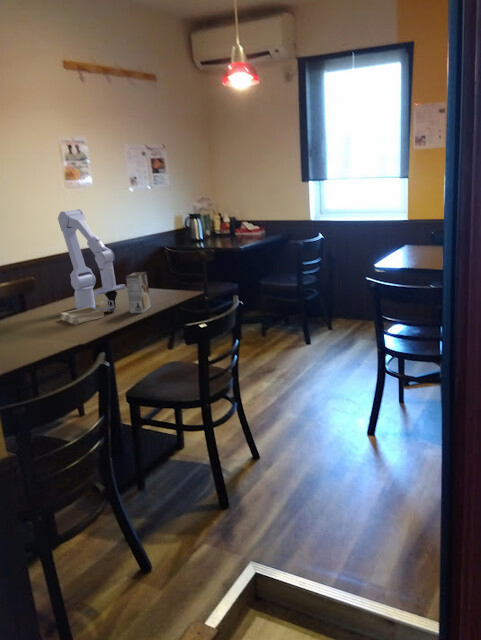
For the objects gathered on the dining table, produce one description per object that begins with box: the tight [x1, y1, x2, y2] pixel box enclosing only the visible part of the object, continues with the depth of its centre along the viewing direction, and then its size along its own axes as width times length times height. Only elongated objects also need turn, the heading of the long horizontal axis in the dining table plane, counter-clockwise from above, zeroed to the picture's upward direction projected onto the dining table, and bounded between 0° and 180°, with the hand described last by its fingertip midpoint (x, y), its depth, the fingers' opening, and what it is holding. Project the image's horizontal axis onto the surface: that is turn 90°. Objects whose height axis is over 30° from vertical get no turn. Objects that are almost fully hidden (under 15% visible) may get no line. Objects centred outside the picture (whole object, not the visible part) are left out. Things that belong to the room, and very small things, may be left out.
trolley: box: [92, 298, 116, 313], centre depth 242 cm, size 6×8×5 cm
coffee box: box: [124, 271, 152, 314], centre depth 241 cm, size 9×6×16 cm
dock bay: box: [59, 306, 105, 326], centre depth 236 cm, size 14×14×3 cm
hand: (112, 308), depth 245 cm, fingers closed, pressing on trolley
